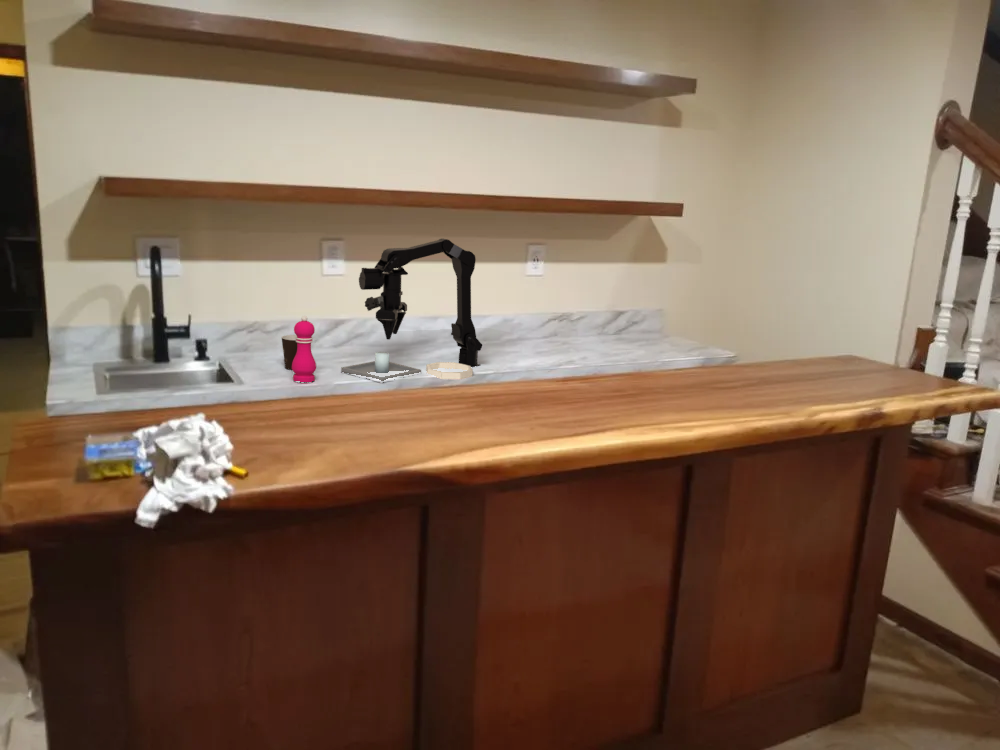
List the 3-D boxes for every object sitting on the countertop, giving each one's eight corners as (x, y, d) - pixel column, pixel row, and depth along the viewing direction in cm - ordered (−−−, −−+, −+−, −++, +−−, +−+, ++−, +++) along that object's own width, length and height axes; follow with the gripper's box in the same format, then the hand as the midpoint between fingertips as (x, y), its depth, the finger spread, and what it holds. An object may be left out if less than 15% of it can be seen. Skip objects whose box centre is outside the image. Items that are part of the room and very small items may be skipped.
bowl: (446, 367, 269) (446, 360, 269) (480, 375, 261) (480, 368, 261) (417, 373, 258) (417, 366, 257) (451, 382, 250) (452, 375, 249)
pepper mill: (293, 377, 243) (294, 313, 238) (317, 378, 244) (318, 314, 239) (289, 383, 236) (289, 317, 231) (314, 384, 237) (314, 318, 232)
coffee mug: (301, 372, 250) (302, 341, 248) (276, 369, 252) (276, 338, 249) (317, 364, 261) (317, 335, 259) (293, 361, 263) (293, 332, 260)
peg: (381, 369, 258) (382, 351, 257) (391, 371, 256) (392, 353, 254) (371, 371, 255) (372, 353, 253) (381, 374, 252) (382, 355, 251)
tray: (381, 364, 268) (381, 359, 267) (421, 374, 257) (421, 369, 257) (341, 372, 253) (341, 367, 253) (381, 383, 243) (381, 378, 243)
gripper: (374, 283, 263) (374, 329, 267) (359, 291, 245) (359, 340, 249) (407, 285, 262) (407, 331, 266) (395, 293, 244) (394, 343, 248)
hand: (391, 336), depth 257 cm, fingers open, 9 cm apart
